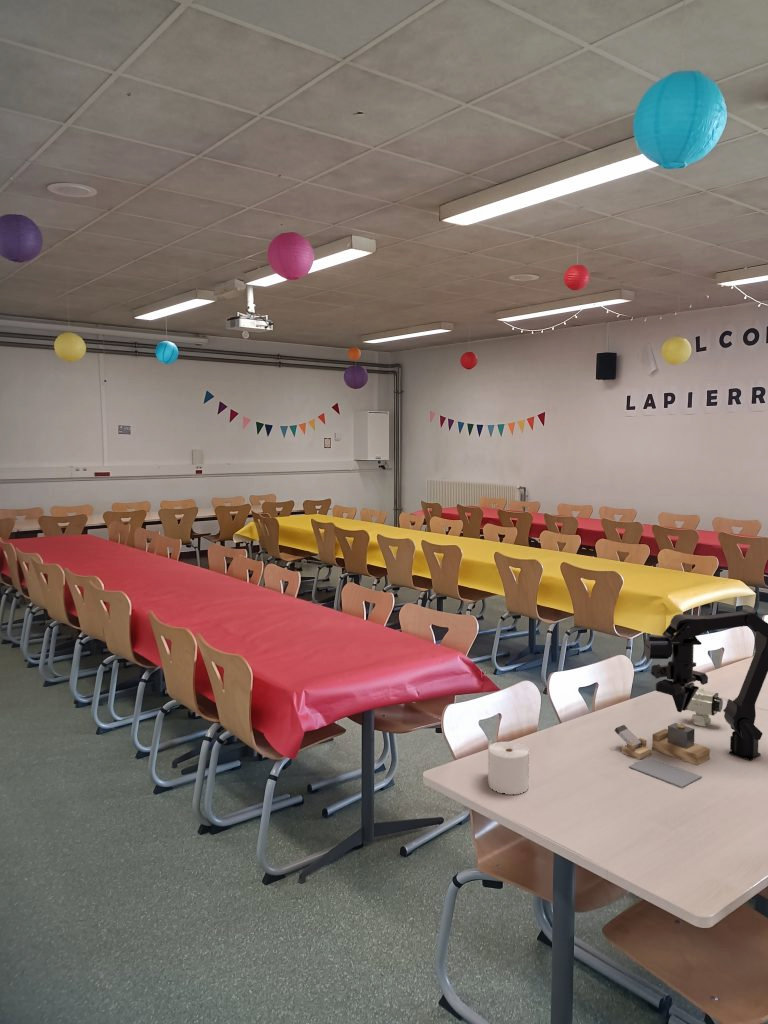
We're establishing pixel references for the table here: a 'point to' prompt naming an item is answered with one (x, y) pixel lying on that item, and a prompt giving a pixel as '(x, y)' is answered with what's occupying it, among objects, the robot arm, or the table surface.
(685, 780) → the felt pad
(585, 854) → the table surface
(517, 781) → the toilet tissue
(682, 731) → the grey knobbed drawer
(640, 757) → the lever mount
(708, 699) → the pneumatic valve
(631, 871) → the table surface
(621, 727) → the lever
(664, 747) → the body
